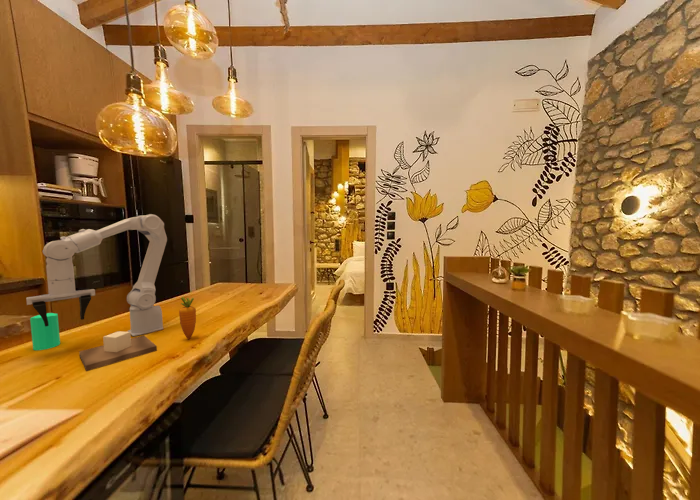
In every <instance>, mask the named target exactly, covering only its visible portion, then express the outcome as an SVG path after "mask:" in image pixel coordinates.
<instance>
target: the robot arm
mask: <svg viewBox="0 0 700 500" xmlns="http://www.w3.org/2000/svg"><path fill="white" fill-rule="evenodd" d="M128 230H129V231H133V230H136V231H138V232H140V233H141V234H143V235H144V236H145V238H146V239H147V240H148V241H149V243H148V246H147V250H146V254H145V256H144V259H143V262H142V265H141V268H140V272H139V275H138V279H137V281H136V282H135V283H134V284H133V285H132V289H131V290H130V292H128V293H127V295H126V302H127V304H129V305H130V307H129V319H130V320H129V321H130V329H128V330H127V332H130V335H131V336H132V337H138V336H140V335H141V336H142V335H145V334H148V333H154V332H157V331H162V330H164V325H163V324H164V323H163V311H162V307H161V306H160V305H155V303H156V300H157V297H156V286H155V282H156V279H157V275H158V272H159V268H160V265H161V262H162V258H163V255H164V252H165V249H166V246H167V242H168V237H167V234H166V230H165V222H164V221H163V220H162V219H161V217H159V216H158V215H156V214H152V213H149V214H146V215H137V216H133V217H129V218H128V217H127V218H125V219H122V220H120V221H117V222H115V223H112V224H110V225H107V226H105V227H102V228H100V229H97V230H94V229H90V228H88V229H84V228H82V229H79V230H78V232H76V233H74V234H71V235H67V236H65V235H64V236H61V237H59V238H60V239H58V240H52V241H50V242H47V243H46V244H45V245H44V247H43V250H42V251H41V252H42V254H43V255H44V256H45V257H46V259H45V262H46V266H45V267H46V277H47V287H48V288H47V289H48V294H41V295H36V296H35V295H34V296H28V297H26V298H25V299H26V306H28V305H32V308H33V309H34V310H35V311H36V312H37V313H38V315H40V316H41V317H42V319H43V321H44V324H45V326H49V324H48V319H47V313H48V312H47V304H46V302H54V301H61V300H68V299H69V300H71V299H74V298H75V299H77V298H78V301H79V317H80V320H81V321H83V320H85V315H86V311H87V308H88V306H89V304H90V302H91V300H92V297H94V296H96V289H94V288H91V289H81V290H80V289H79V290H76V280H75V271H74V264H73V256H74V255H75V253H76V254H79V253H81V252H84V251H86V250H89V249H92V248H94V247H97V246H99V245H101V243H102V241H103V239H105V238H109V237H111V236H114V235H117V234H120V233H123V232H126V231H128Z"/></svg>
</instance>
